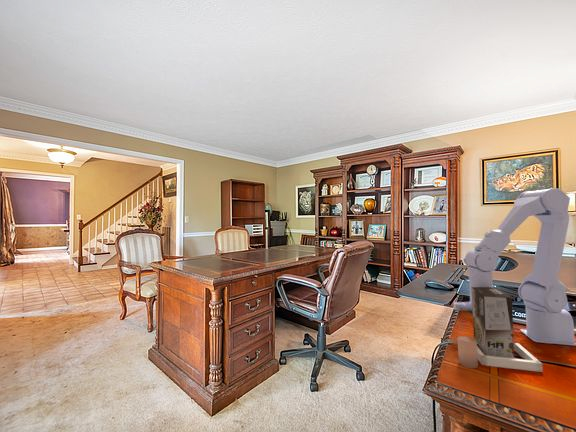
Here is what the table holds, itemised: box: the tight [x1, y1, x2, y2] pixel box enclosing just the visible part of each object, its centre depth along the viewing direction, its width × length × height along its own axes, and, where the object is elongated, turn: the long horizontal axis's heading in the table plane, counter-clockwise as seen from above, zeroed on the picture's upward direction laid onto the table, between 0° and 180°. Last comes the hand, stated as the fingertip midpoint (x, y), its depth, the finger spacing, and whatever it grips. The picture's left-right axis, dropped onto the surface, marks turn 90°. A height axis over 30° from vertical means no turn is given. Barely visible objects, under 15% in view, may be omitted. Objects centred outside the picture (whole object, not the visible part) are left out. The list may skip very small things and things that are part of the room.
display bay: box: [477, 342, 543, 373], centre depth 67 cm, size 12×10×2 cm
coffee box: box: [471, 286, 515, 359], centre depth 71 cm, size 9×6×16 cm
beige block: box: [457, 335, 479, 369], centre depth 65 cm, size 4×4×6 cm
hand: (483, 335), depth 77 cm, fingers closed, pressing on coffee box
